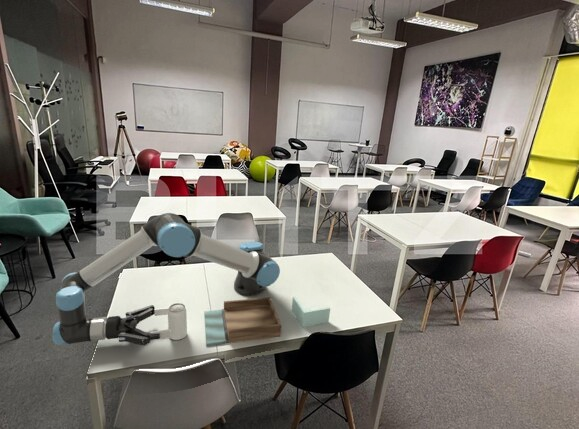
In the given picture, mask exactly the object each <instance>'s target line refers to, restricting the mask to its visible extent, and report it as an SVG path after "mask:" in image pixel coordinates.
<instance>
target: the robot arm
mask: <svg viewBox="0 0 579 429" xmlns="http://www.w3.org/2000/svg"><path fill="white" fill-rule="evenodd" d="M153 246H154V247H158V246H159V248H160V250H162V251H163V253H165V254H166V255H167V256H170V257H173V258H182V257H183V258H191V257H193V256H195V257H197V258H200V259H203V260H205V261H208V262H211V263H215V264H218V265H220V266H223V267H226V268H229V269H231V270H234V271H237V274H236V277H235V279H234V282H233V289H234V291H235V292H236V293H238V294H240V295H243V296H255V295H259V294H262V293H263V292H264V290H266V289H265V288H267V287H270V286H272V285H273V284H274V283H275V282H277V280H278V278H279V277H280V275H281V274H280V273H281V270H280V269H281V268H280V265H279V264H278V263H277V261H275V260H274V259H273V258H272V257H270V256H269V255H268V254H267V252H265V251H264V249H265V246H264V244H263V243H262V242H259V241H247V242H242V243H241V244H239V246H238V247H235V246H233V245H230V244H228V243H226V242H223V241H220V240H217V239H216V238H213V237H210V236H208V235H205V234H203V233H202V230H201V229H200V228H198V227H196V226H193V225H191V224H188V223H186V222H185V221H184V219H183V218H182V217H181V216H179V215H178V214H176V213H172V212H165V213H162V214H159V215H158V216H156V217H153V218H152V219H150V220H149V221H147V222H146V223H144V224H142V226H141V228H140V230H139V231H138V232H136V233H134V234H132V235H131V236H130V237H128V238H127V239H125V240H124V241H123V242H121V243H119V244H118V245H116V246H115V247H113V248H112V249H111V250H109V251H107V252H106V253H105V254H103V255H102V256H100V257H98V258H97V259H95V260H94V261H93V262H91V263H89V264H88V265H87V266H85V267H83V268H82V269H81V270H79V271H77V272H76V271H75V272H71V273H68V274H67V275H65V276H64V277H63V278H62V279H61V280H62V281H61V283H60V290H58V292H56V293H55V294H56V295H55V305H56V307H57V308H56V309H57V314H58V319H59V321H57V322H56V323H55V324H54V325H53V328H52V333H51V334H52V335H51V336H52V338H51V339H52V341H53V343H54V344H55V345H72V344H78V343H84V342H94V341H103V340H113V339H114V340H115V339H118V342H119V343H130V344H135V345H140V346H147V345H148V344H150V343H151V341H153V340H159V339H160V340H161V339H166V338H167V339H168V338H170V337H171V332H170V329H169V328H168V329H161V330H153V331H149V333H148V332H146V331H144V330H142V329H139V328H137V326H138V324H139V323H141V322H142V321H144V320H146V319H148V318H150V317H152V316H153V315H154V316H155V317H158V316H159V317H160V316H166V315H167V316H168V310H169V307H170V306H169V307H156V308H155V305H153V304H151V305H148V306H144V307H142V308H138V309H135V310H133V311H128V312H127V311H126V312H125V317H121V316H120V315H115V316H113V315H112V316H108V317H107V316H102V317H100V316H99V317H94V318H87V316H88V315H87V311H86V310H87V309H86V292H88V291H89V290H90V289H92V288H93V287H95V286H96V285H97V284H100V283H101V282H102V281H103V280H105V279H107V278H109V276H111V275H112V274H114V273H115V272H117V271H119V269H121V268H122V267H124V266H126V265H127V264H129V263H131V261H132V260H135V259H136V258H137V257H139V256H140V255H141V254H143V253H144V252H146V251H147V250H149V249H151V248H152V247H153Z"/></svg>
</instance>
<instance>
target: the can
mask: <svg viewBox="0 0 579 429" xmlns="http://www.w3.org/2000/svg"><path fill="white" fill-rule="evenodd" d="M187 319H188V316H187V308H186V306H185V304H184V303H181V302H180V303H179V302H177V303H173V304H171V305H170V306H169V310H168V315H167V324H168V326H167V327H168V329H170V332H171V337H169V339H171V340H173V341H180V339H181V340H182V339H185V337H186V336H187V334H188V326H187V325H188V324H187V323H188V322H187Z"/></svg>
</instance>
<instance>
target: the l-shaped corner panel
mask: <svg viewBox="0 0 579 429" xmlns="http://www.w3.org/2000/svg"><path fill="white" fill-rule="evenodd" d="M291 312H292V314H293V315H294V317H295V318H296V320H297V321H298V323H299V325H300V326H301V328H302V327H303V328H306V327H307V326H308V327H312V326H317V325H316V324H318V325H322V324H321V323H323V324H326V323H325V322H328V323H329V322H330V314H331V307H330V306H328V307H322V308H318V309H317V308H316V309H307V310H305V308H304V307H303V305H302V304H301V303H300V301H299V300H298V299H297V298H296V296H292V303H291ZM308 327H307V328H308Z"/></svg>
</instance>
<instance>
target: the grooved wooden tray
mask: <svg viewBox="0 0 579 429" xmlns="http://www.w3.org/2000/svg"><path fill="white" fill-rule="evenodd" d="M204 329H205V330H204V332H205V345H206V346H205V347H208V346H217V345H223V344H224V345H225V344H231V343H233V344H234V343H240V342H247V341H256V340H262V339H263V340H265V339H271V338H278V337H279V338H280V337H281V335H282V324H281V321H280V318H279V315H278V314H277V311H276V308H275V306H274V304H273V301H272V298H271V297H269V296H268V297H257V298H247V299H246V298H245V299H236V300H226V301H225V300H224V301H223V308H222V309H216V310H206V311H204Z"/></svg>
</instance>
